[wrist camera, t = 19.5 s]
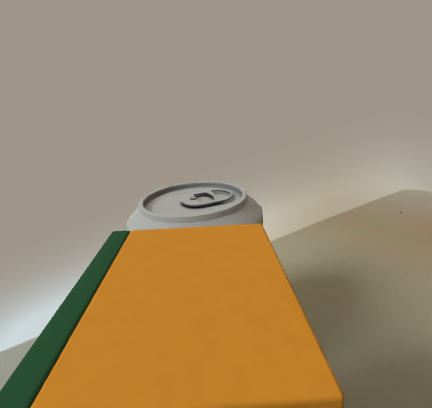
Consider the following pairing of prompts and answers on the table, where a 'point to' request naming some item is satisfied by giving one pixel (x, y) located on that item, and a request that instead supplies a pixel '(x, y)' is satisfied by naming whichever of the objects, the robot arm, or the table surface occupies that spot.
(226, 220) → the soda can
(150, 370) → the sponge
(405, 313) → the table surface
